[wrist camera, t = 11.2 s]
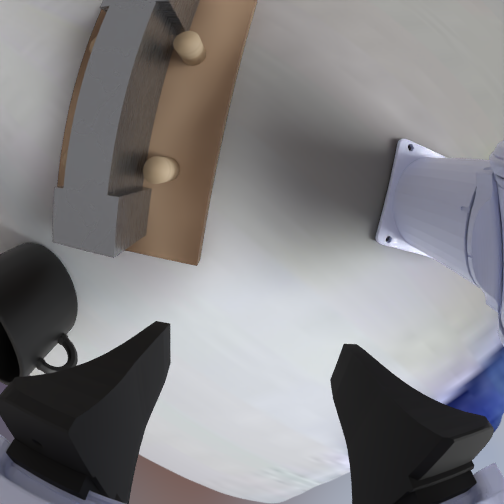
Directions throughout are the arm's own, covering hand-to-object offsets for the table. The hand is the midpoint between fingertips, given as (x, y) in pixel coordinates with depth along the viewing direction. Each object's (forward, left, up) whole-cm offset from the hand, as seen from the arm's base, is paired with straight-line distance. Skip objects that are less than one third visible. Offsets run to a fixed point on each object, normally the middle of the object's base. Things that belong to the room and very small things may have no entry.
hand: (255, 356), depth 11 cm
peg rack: (+10, -10, -10) cm, 17 cm away
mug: (+18, +7, -10) cm, 22 cm away
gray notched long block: (+10, -10, -9) cm, 17 cm away
